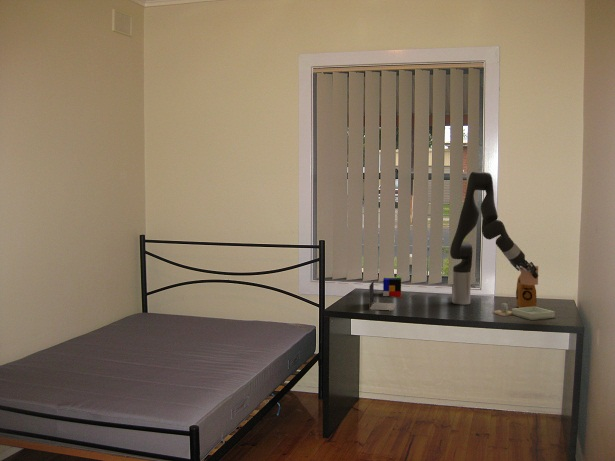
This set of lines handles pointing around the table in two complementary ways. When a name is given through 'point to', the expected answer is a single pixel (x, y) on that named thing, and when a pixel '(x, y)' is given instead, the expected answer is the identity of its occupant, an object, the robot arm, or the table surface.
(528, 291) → the coffee package
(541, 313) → the tray
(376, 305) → the laptop
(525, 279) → the pink rounded block
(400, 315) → the table surface
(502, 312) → the candle holder
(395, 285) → the puzzle toy
